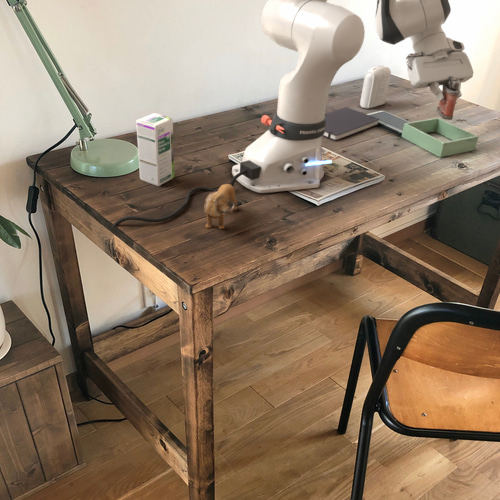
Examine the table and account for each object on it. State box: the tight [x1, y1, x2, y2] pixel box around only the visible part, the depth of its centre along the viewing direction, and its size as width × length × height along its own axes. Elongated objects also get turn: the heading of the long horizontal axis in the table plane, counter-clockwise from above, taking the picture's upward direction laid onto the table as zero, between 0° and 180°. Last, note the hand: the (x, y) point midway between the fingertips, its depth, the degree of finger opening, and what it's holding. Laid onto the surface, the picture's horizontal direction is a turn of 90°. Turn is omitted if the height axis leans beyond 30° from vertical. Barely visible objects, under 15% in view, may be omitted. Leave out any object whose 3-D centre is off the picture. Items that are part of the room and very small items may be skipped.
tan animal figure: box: [203, 183, 238, 230], centre depth 116 cm, size 15×5×9 cm, turn 171°
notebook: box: [323, 106, 380, 141], centre depth 167 cm, size 13×2×21 cm
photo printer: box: [359, 65, 392, 110], centre depth 181 cm, size 10×4×12 cm, turn 134°
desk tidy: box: [401, 117, 479, 158], centre depth 160 cm, size 13×15×4 cm
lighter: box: [436, 76, 461, 121], centre depth 153 cm, size 8×3×10 cm, turn 0°
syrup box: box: [135, 112, 175, 187], centre depth 128 cm, size 6×6×14 cm
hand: (450, 98), depth 153 cm, fingers closed on lighter, 4 cm apart
